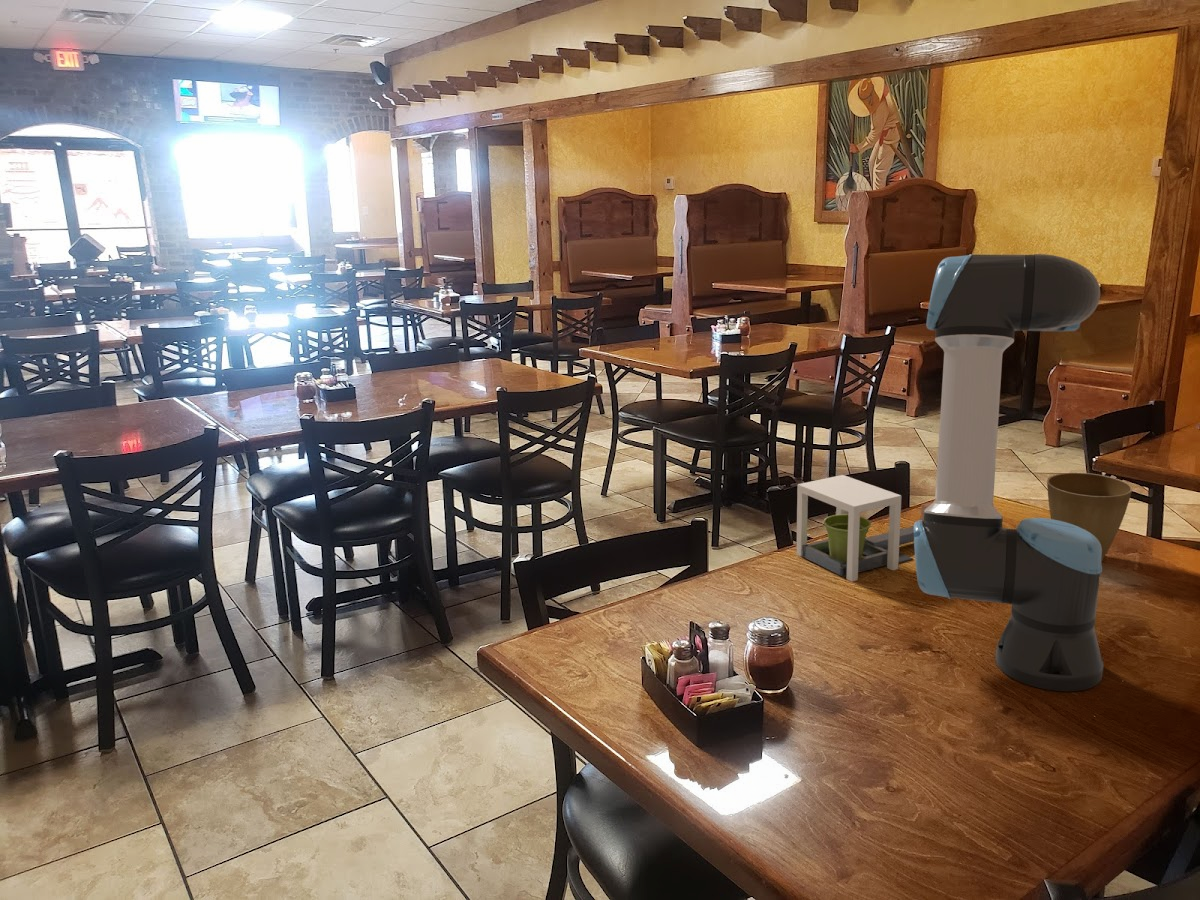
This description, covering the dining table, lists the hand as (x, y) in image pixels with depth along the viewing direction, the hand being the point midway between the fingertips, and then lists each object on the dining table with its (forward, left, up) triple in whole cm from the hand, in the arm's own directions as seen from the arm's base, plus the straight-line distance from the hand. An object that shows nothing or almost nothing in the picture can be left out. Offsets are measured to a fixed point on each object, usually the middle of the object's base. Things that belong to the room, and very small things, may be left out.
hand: (966, 459), depth 198 cm
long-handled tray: (0, +23, -16) cm, 28 cm away
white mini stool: (0, +30, -16) cm, 34 cm away
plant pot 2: (-24, -7, -17) cm, 30 cm away
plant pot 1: (0, +33, -17) cm, 37 cm away
